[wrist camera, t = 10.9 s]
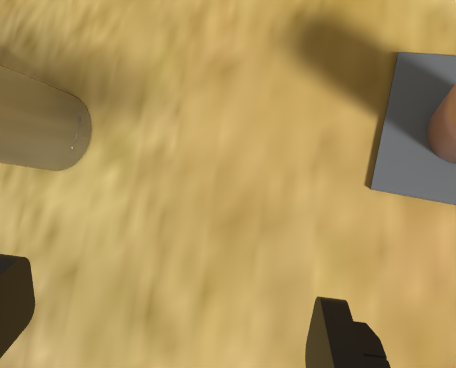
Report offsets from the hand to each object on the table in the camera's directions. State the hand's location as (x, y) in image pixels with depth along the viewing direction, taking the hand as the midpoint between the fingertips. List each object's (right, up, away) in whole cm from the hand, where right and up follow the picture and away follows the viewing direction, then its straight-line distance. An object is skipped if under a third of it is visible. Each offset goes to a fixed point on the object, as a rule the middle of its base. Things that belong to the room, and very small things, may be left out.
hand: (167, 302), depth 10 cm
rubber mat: (+21, +8, +20) cm, 30 cm away
